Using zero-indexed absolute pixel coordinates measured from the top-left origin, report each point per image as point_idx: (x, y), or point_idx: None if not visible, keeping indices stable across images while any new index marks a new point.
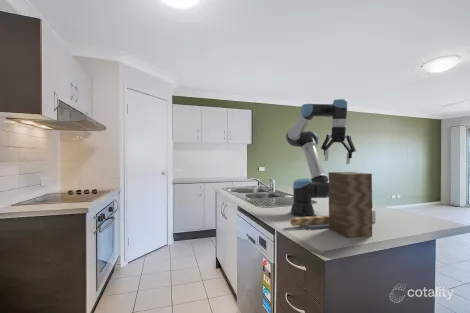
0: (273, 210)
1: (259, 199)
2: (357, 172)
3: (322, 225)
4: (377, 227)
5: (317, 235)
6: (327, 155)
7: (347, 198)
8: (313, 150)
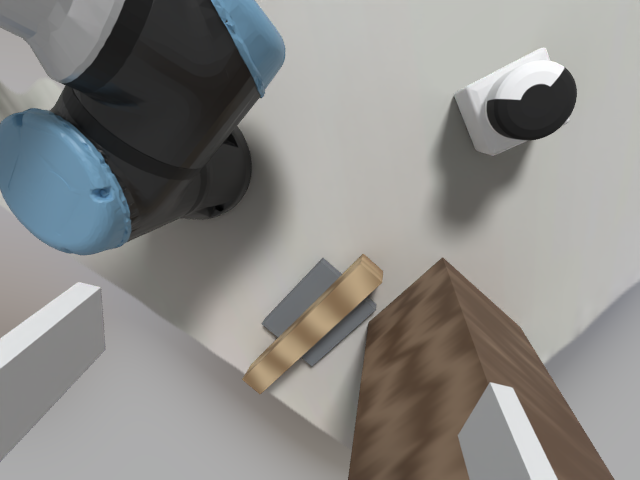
0: None
1: None
2: None
3: (345, 330)
4: (546, 200)
5: (356, 397)
6: (12, 391)
7: None
8: None
